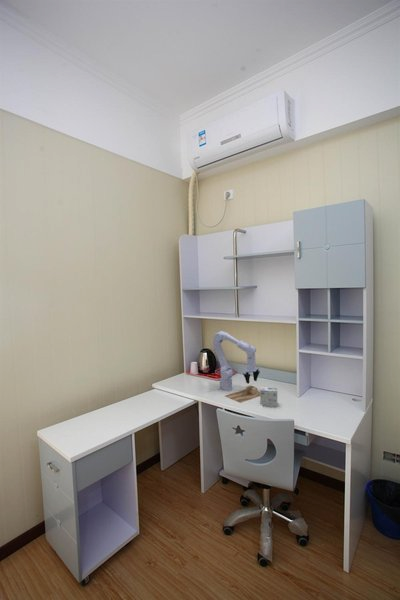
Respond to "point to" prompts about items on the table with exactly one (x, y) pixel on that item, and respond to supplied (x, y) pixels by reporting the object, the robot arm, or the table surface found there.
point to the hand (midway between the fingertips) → (251, 381)
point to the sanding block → (251, 389)
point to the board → (242, 396)
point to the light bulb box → (268, 396)
